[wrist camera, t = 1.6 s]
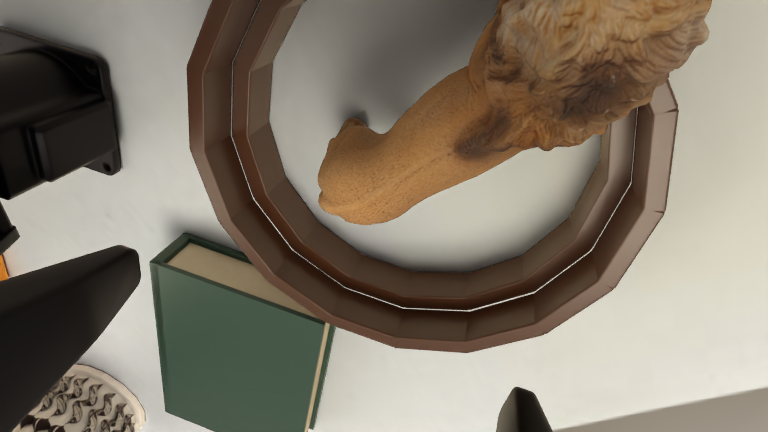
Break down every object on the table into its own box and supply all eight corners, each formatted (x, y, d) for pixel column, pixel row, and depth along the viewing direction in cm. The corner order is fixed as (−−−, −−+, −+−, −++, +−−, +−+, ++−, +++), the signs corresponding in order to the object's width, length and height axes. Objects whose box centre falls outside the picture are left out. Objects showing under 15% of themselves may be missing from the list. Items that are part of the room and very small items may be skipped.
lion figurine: (586, -155, 13) (622, -233, 6) (697, -16, 14) (840, 58, 7) (315, 151, 22) (197, 268, 15) (395, 226, 23) (320, 369, 16)
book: (191, 378, 35) (164, 411, 32) (183, 231, 27) (148, 261, 24) (314, 426, 34) (297, 465, 31) (343, 288, 26) (324, 325, 23)
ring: (236, 232, 26) (194, 275, 23) (248, -154, 16) (177, -179, 13) (539, 337, 24) (540, 401, 21) (754, -31, 14) (823, -23, 11)
